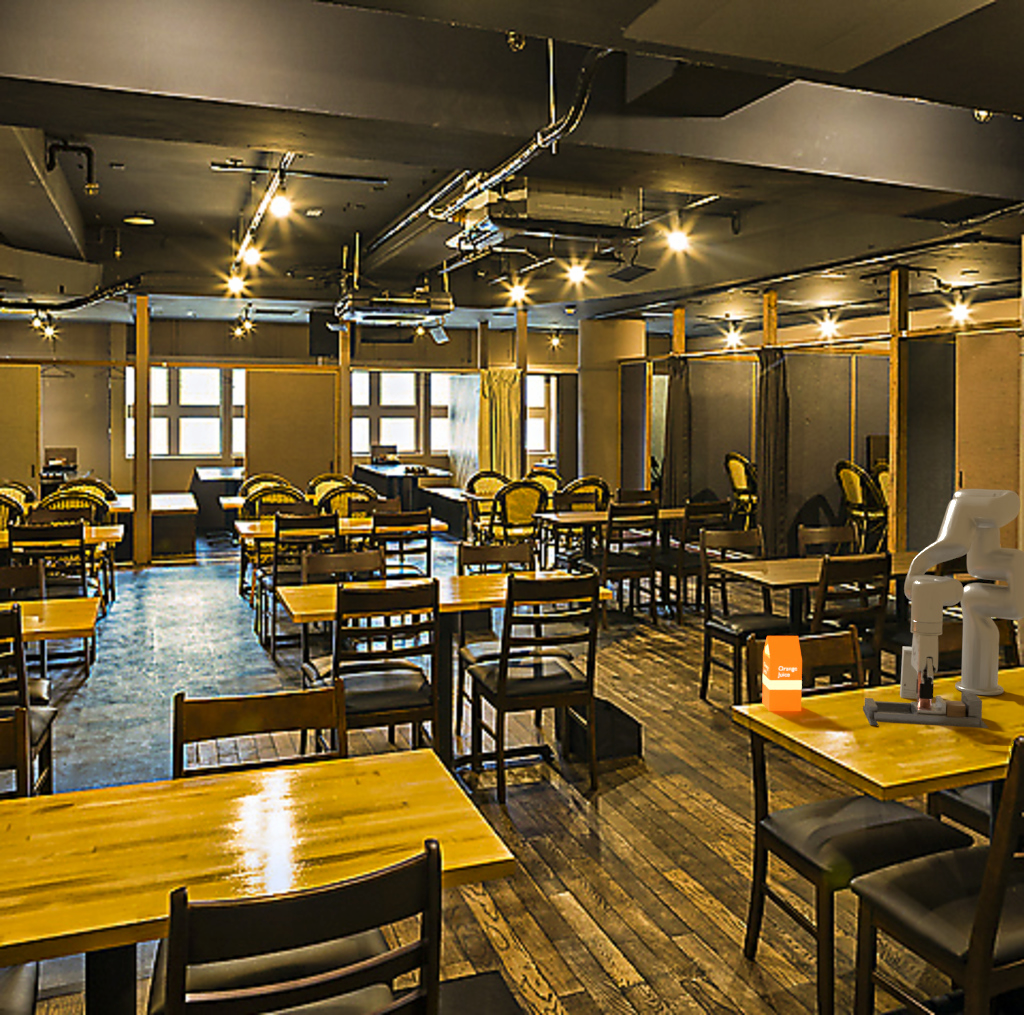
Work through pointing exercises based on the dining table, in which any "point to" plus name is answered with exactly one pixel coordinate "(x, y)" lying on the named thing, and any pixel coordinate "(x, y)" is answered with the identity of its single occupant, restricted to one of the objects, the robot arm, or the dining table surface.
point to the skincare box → (908, 675)
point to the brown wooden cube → (955, 708)
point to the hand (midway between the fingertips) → (924, 695)
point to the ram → (928, 703)
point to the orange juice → (782, 673)
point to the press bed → (903, 714)
